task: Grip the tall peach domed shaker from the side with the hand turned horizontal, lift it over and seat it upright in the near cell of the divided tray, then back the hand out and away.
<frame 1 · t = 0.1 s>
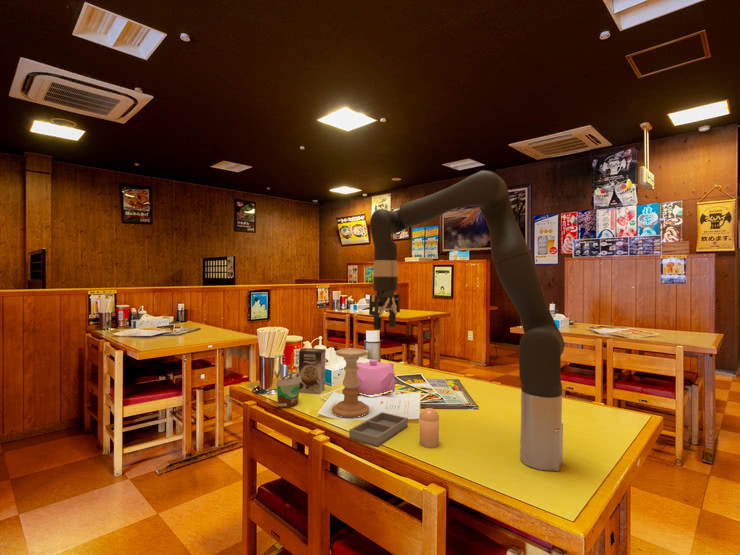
hand: (385, 328, 122), 29 cm above the table, tool pointing down, fingers open, 8 cm apart
candle holder: (350, 412, 132), on the table
food container: (291, 405, 138), on the table
coffee box: (311, 391, 154), on the table
peach domed shaker: (429, 443, 107), on the table
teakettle: (373, 392, 154), on the table
divided tray: (379, 432, 115), on the table
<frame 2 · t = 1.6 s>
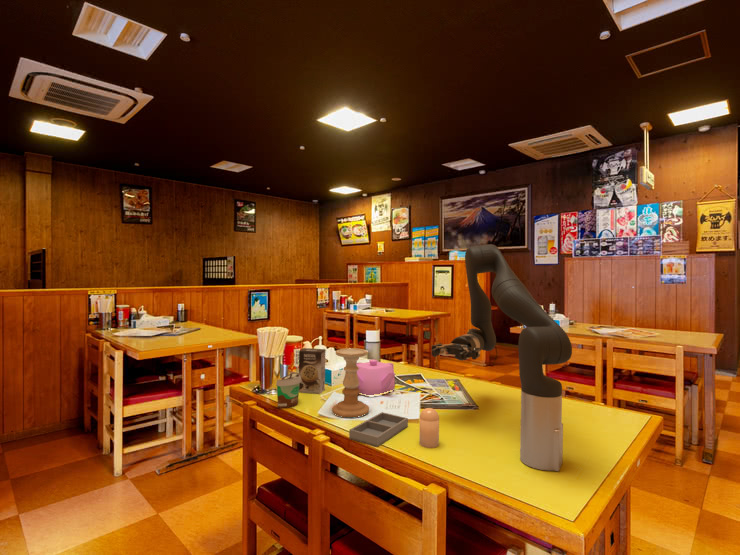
hand: (446, 355, 117), 22 cm above the table, tool horizontal, fingers open, 8 cm apart
nothing on the table moved.
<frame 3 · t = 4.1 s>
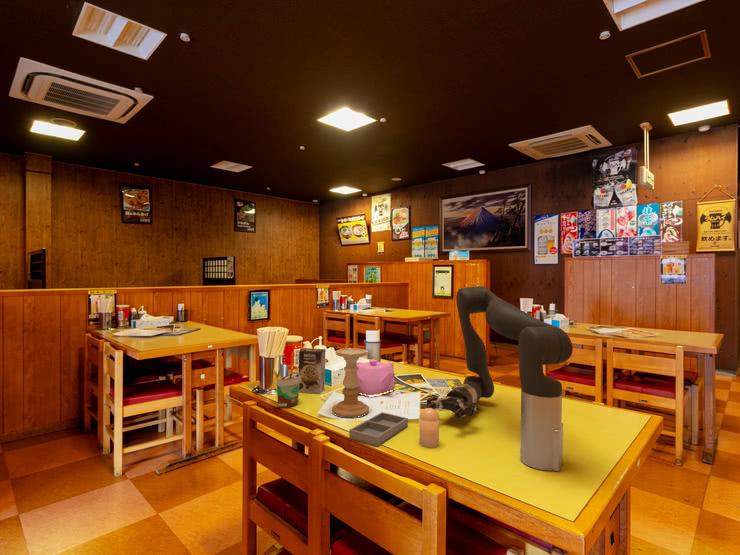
hand: (441, 412, 114), 6 cm above the table, tool horizontal, fingers open, 8 cm apart
nothing on the table moved.
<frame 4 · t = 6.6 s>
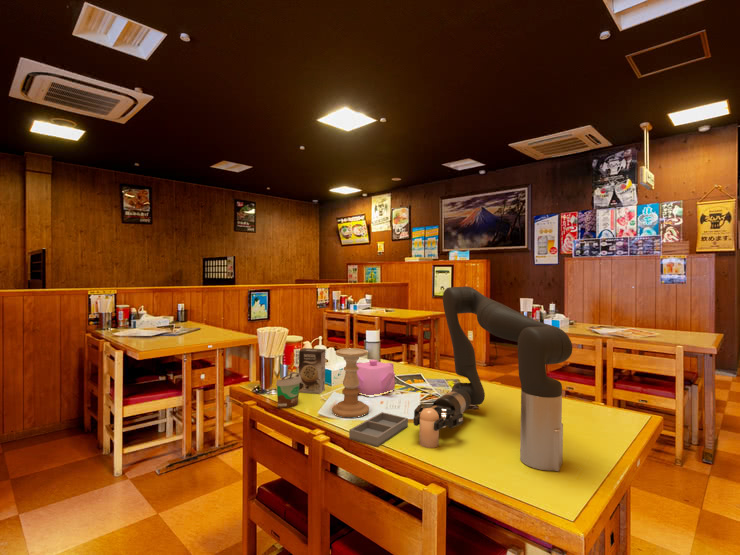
hand: (425, 424, 105), 6 cm above the table, tool horizontal, fingers closed on peach domed shaker, 5 cm apart
peach domed shaker: (429, 443, 107), on the table, touching gripper
everything else where it was.
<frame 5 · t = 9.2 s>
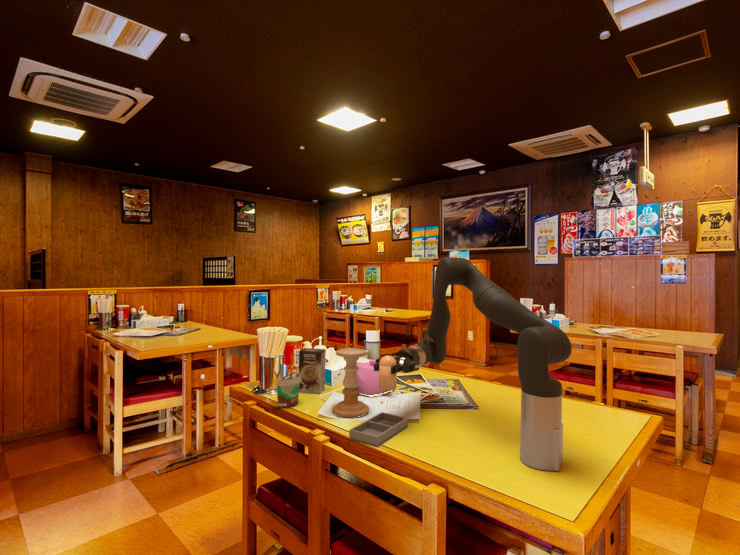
hand: (383, 369, 116), 18 cm above the table, tool horizontal, fingers closed on peach domed shaker, 5 cm apart
peach domed shaker: (387, 387, 118), point 12 cm above the table, touching gripper
everything else where it was.
when the fingers open (7 cm above the table, at t = 12.2 s): peach domed shaker stays where it is, resting on divided tray.
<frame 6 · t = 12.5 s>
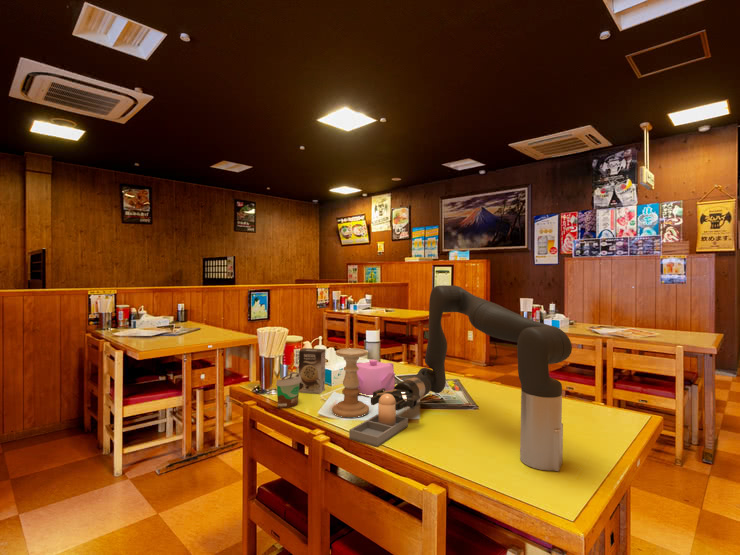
hand: (384, 404, 116), 8 cm above the table, tool horizontal, fingers open, 8 cm apart
peach domed shaker: (386, 425, 118), resting on divided tray
everything else where it was.
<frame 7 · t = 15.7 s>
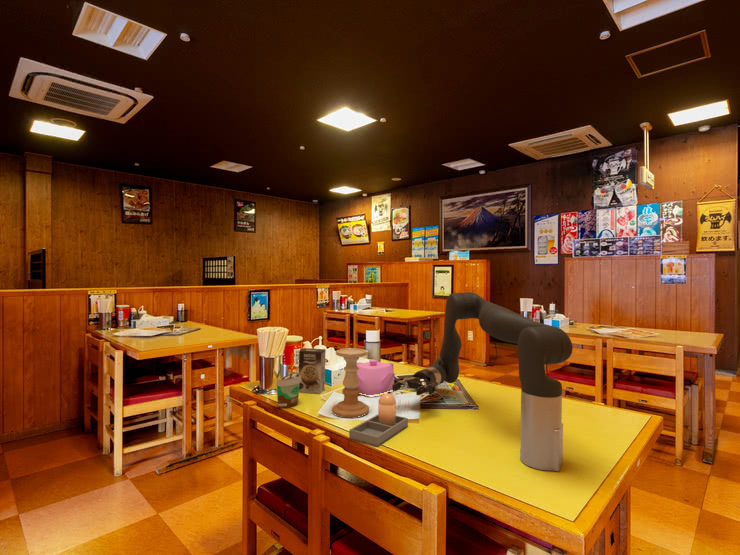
hand: (405, 390, 127), 9 cm above the table, tool horizontal, fingers open, 8 cm apart
nothing on the table moved.
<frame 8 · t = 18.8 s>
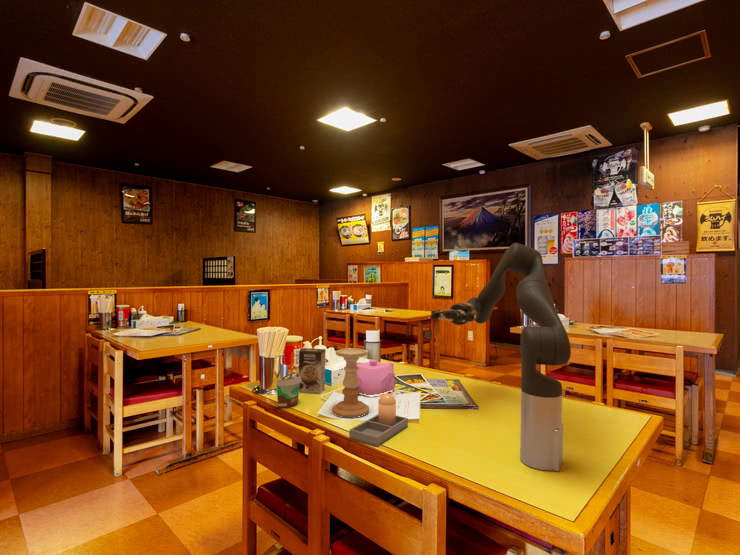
hand: (445, 317, 128), 32 cm above the table, tool horizontal, fingers open, 8 cm apart
nothing on the table moved.
at the end: peach domed shaker 0.1 cm from the target spot on the divided tray, point 0.5 cm above the divided tray's base; peach domed shaker tilted 0°; the gripper is holding nothing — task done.
